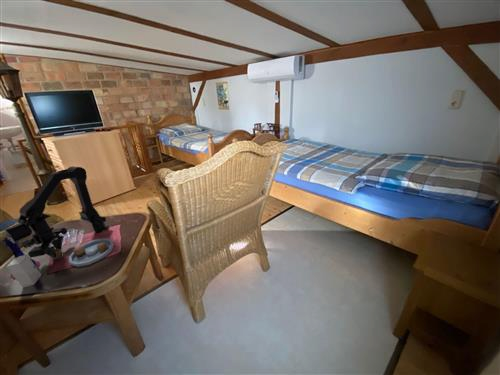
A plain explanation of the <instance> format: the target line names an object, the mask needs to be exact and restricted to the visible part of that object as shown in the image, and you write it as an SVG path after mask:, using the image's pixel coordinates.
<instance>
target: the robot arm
mask: <svg viewBox="0 0 500 375" xmlns="http://www.w3.org/2000/svg"><path fill="white" fill-rule="evenodd" d="M68 179H69V180H70V182H72V183H73V185H74V187H75V190H76V193H77V196H78V199H79V203H80V204H81V211H79V212H78V214H79V216H80V217H79V218H80V219H81V220H82V221H83V222H86V223H89V224H91V226H92V228H93V230H94V233H95V234H100V233H102V232H103V231H107V230H109V228H110V226H109V225H106V221H107V218H106V217H105V216H101V214H99V212H98V210H97V209H96V208H95V207H94V205H93V202H92V198H91V195H90V192H89V190H88V186H87V179H88V176H87V171H86V168H83V167H81V166H74V165H72V166H69V167H67V168H65V169H61V170H58V171H53V172H51V173H50V174H49V176H48V177H47V179H45V182H44V183H43V185H42V186H40V188H39V190H38V191H37V193H36V194H35V195H34V197H33V198H31V199H29V201H27V202H25V203H24V205H22V206H21V208H19V211H18V212H19V214H20V215H19V217H18V221H17V224H14V225H13V226H9V227H6V228H5V229H4V232H5V236H6V238H7V239H8V240H9V239H10V240H9V241H10V242H11V243H12V244H15V243H17V242H20V241H21V240H22V242H20V244H21V246H22V247H23V248H24V249H27V248H31V247H32V246H34V245H37V246H34V247H33V248H32V249H30V250H29V251H28V252H27V255H28V256H29V258H30V259H32V258H36V257H41V256H45V255H47V256H49V257H50V258H52V259H53V258H56V253H55V249H57V248H60V249H61V251H62V248H63V240H64V238H65V236H64V235H66V234H67V233H68V229H67V228H65V227H60V228H59V227H57V228H54V227H53V226H50V224H49V223H48V221H47V219H48V218H51V215H49V214H47V213H44V212H45V209H46V204H47V202H48V200H49V199H50V197H51V195H52V194H53V193H54V191H55V190H56V189H57V188H58V186H59V184H60V183H61V182H62V181H63V180H68ZM31 235H32V236H31ZM26 238H27V239H26ZM23 239H25V240H23ZM51 244H52V246H51Z"/></svg>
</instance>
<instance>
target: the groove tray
mask: <svg viewBox="0 0 500 375" xmlns="http://www.w3.org/2000/svg"><path fill="white" fill-rule="evenodd" d="M102 242H106V243H107V245H108V250H106V251H105V252H104V253H100V252H99V250H98V248H97V245H98V244H100V243H102ZM81 246H83V248H84V249H85V251H86V254H85V255H84V256H82V257H76V255H75V254H74V252H71V254H70V255H69V256H68V261H69V265H70V266H73V267H76V268H79V267H84V266H85V267H86V266H89V265H92V264H93V263H96V262H98V261H100V260H102V259H104V257H107V256H108V255H109V254H110V253H111V252H112V251H113V248H114V247H115V245H114V243H113V240H112V238H107V237H101V238H98V239H93V240H91V241H88V242H86V243H84V244H82V245H81Z"/></svg>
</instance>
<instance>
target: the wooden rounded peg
mask: <svg viewBox="0 0 500 375" xmlns="http://www.w3.org/2000/svg"><path fill="white" fill-rule="evenodd" d="M97 248H98V250H99V252H100V253H104V252H105V251H106V250H108V245H107V243H106V242H102V243H100V244H98V245H97Z"/></svg>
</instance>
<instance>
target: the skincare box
mask: <svg viewBox="0 0 500 375" xmlns="http://www.w3.org/2000/svg"><path fill="white" fill-rule="evenodd" d="M6 268H7V270H8V271H9V272H10V273H11V275H12V276H13V277H14V279H16V281H17V282H18V284H19V285H20V287H22V288H27V287H31V286H34V285H36V283H37V282H38V280H39V279H40V278H41V276H42V273H41V272H40V271H39V269H38V267H37V266H36V265H35V263H34V262H33V261H32V258H30V256H29V255H28V254H23V255H20V256H16V257H14V259H12V260H11V261H10V262H9V263H8V265H6Z"/></svg>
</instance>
